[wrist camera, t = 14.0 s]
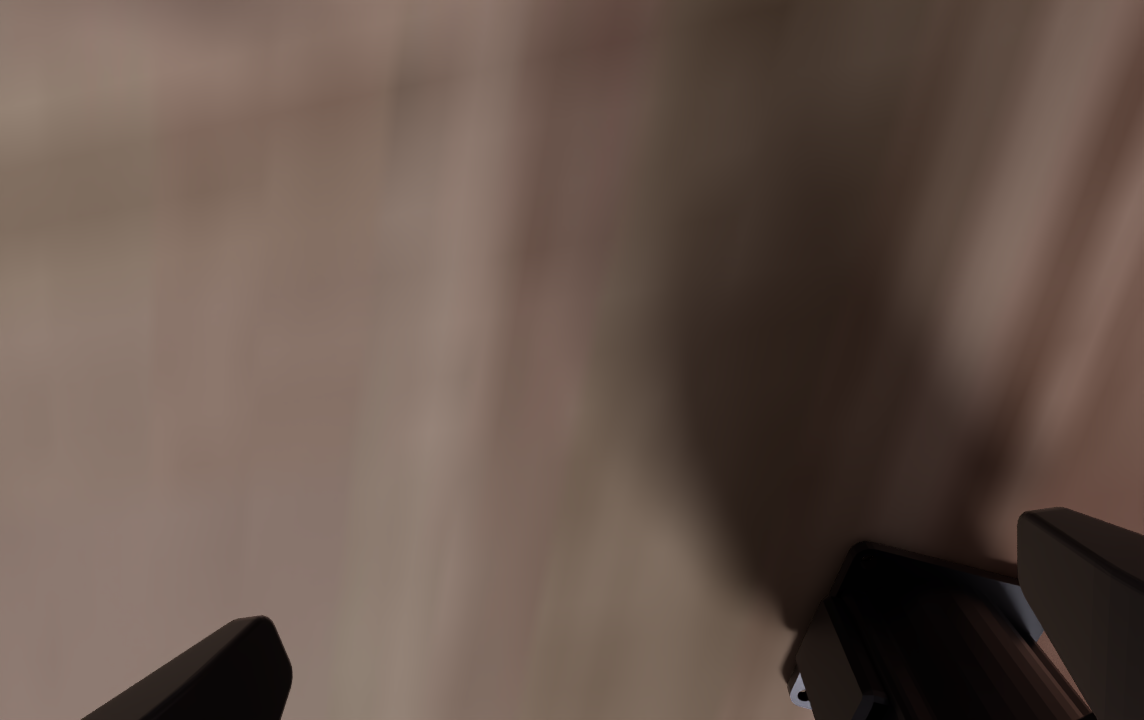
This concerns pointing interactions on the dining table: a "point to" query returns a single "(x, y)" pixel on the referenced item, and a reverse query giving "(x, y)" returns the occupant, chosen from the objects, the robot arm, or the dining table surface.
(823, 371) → the dining table surface
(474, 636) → the dining table surface
